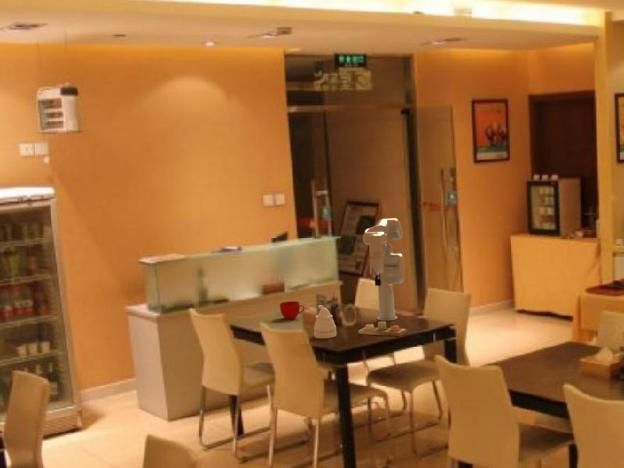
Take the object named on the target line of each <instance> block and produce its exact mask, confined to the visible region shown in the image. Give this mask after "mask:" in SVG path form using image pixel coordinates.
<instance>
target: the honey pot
mask: <svg viewBox="0 0 624 468" xmlns="http://www.w3.org/2000/svg"><path fill="white" fill-rule="evenodd" d="M317 307H318V309H319V312H318V314H317V315H315V319H316V320H315V324H314V327H313V333H314V338H316V339H331V338H336V336H337V326H336V324H335V320H334V318H333V315H332V314H331V313H330V311H329V309H327V307H324V306H323V305H321V304H320V305H317Z"/></svg>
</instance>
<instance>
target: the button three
mask: <svg viewBox="0 0 624 468" xmlns="http://www.w3.org/2000/svg"><path fill="white" fill-rule="evenodd" d="M390 328H391V331H394V332H398V331H399V329H400V326H399V325H391V326H390Z"/></svg>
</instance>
